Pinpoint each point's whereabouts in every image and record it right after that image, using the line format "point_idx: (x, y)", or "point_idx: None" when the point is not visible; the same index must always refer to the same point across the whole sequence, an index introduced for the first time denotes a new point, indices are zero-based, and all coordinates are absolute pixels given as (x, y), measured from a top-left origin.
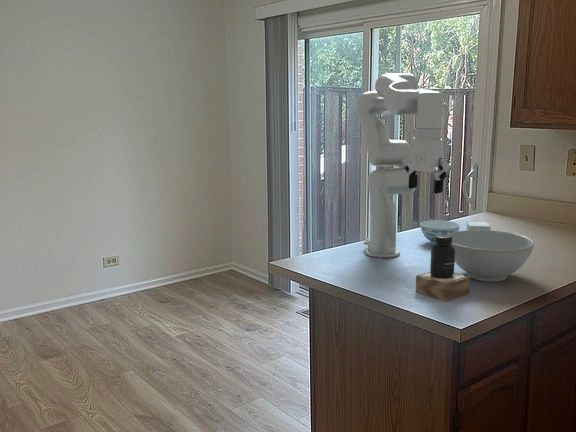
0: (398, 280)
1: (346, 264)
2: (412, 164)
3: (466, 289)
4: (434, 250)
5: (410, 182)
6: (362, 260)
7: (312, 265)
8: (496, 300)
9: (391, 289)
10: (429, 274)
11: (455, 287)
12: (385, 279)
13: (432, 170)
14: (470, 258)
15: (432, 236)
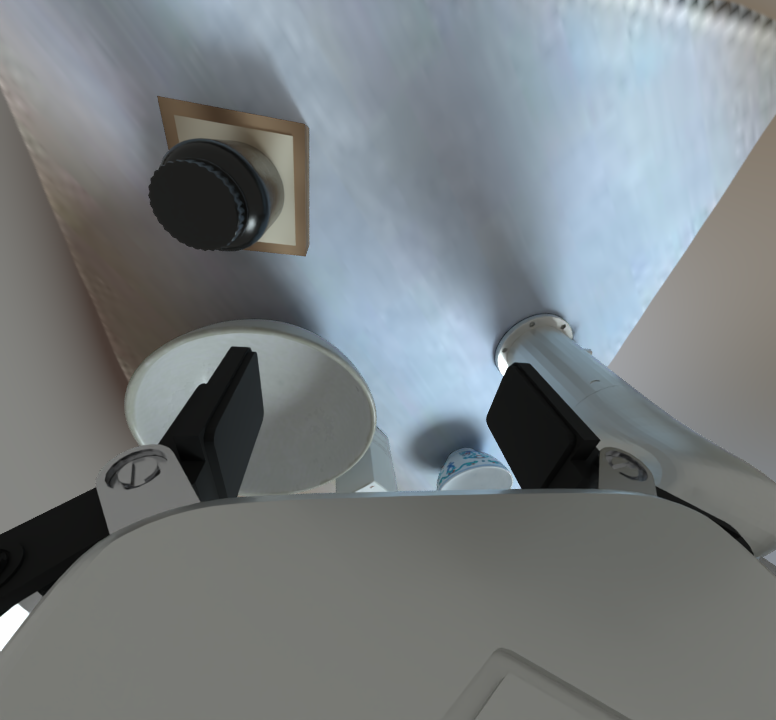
0: (405, 193)
1: (583, 218)
2: (725, 614)
3: None
4: (217, 141)
5: (539, 395)
6: (555, 276)
7: (675, 133)
8: (120, 230)
9: (375, 90)
10: (279, 167)
11: None
12: (438, 174)
13: (84, 575)
14: (237, 320)
15: (470, 454)
